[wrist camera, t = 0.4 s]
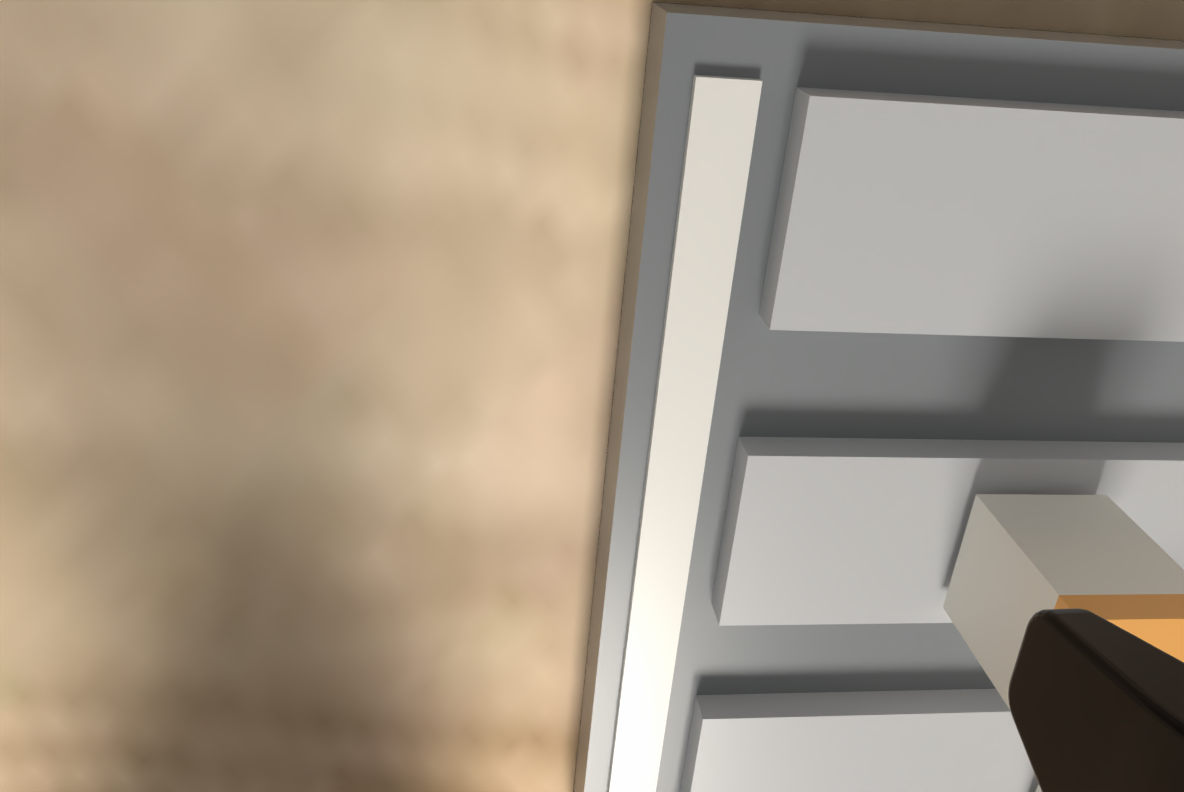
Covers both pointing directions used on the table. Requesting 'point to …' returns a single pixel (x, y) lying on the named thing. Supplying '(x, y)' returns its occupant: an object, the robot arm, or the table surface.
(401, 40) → the table surface
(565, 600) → the table surface
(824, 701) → the panel
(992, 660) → the toggle mid
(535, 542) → the table surface
